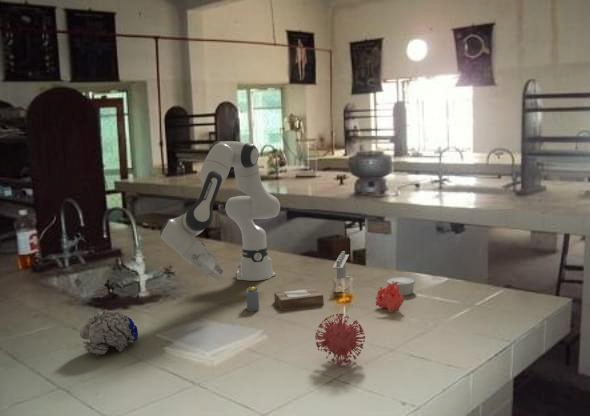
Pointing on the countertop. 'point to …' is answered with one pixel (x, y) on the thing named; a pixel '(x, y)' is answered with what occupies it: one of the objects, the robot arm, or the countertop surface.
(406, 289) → the ramekin
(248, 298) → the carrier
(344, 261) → the test tube rack
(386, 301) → the protein model
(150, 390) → the countertop surface
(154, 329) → the countertop surface
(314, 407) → the countertop surface
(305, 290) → the dock
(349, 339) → the virus model
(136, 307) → the countertop surface
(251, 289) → the ball
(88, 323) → the educational model
